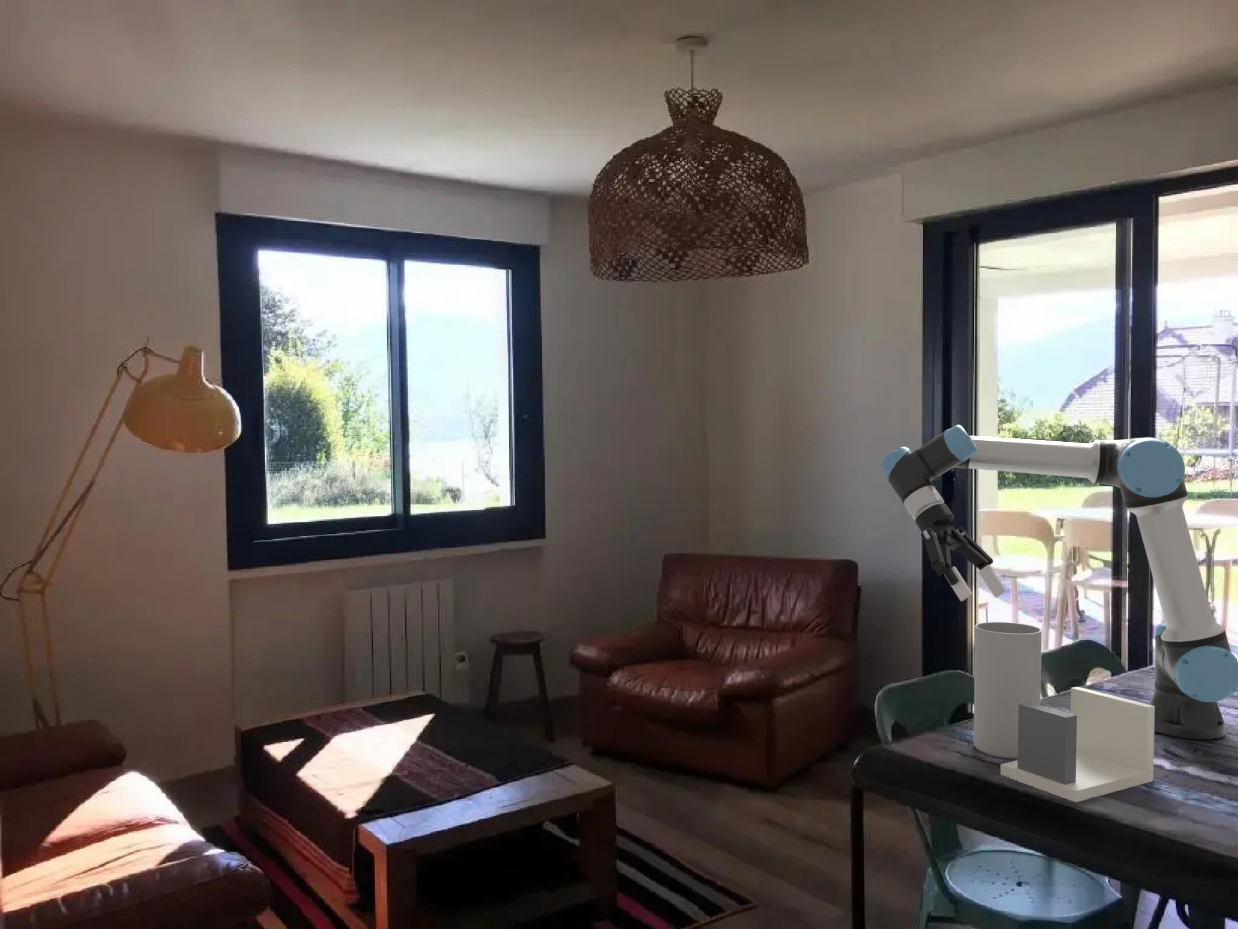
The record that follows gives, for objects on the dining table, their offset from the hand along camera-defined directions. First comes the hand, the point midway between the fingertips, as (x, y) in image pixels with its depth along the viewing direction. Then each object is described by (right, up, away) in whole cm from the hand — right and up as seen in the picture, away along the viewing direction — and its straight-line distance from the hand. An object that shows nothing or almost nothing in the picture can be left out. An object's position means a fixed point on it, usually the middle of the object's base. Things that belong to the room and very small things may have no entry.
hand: (984, 596), depth 204 cm
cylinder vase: (+4, -31, -2) cm, 32 cm away
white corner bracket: (+10, -31, -18) cm, 38 cm away
